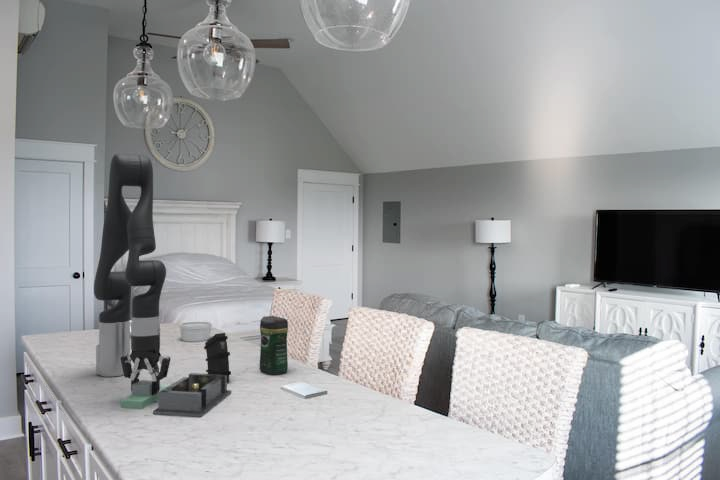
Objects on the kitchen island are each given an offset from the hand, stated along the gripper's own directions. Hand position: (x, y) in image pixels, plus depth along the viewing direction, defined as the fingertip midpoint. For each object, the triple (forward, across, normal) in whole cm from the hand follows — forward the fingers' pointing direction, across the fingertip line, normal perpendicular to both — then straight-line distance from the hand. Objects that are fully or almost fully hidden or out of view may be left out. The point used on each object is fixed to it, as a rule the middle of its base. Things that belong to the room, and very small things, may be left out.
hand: (145, 393), depth 154 cm
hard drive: (+3, +41, +16) cm, 44 cm away
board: (+2, 0, 0) cm, 2 cm away
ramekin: (+2, -22, +81) cm, 84 cm away
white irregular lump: (+2, -49, +80) cm, 94 cm away
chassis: (+2, +14, 0) cm, 14 cm away
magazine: (+2, +11, +24) cm, 26 cm away
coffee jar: (+2, +26, +36) cm, 44 cm away
